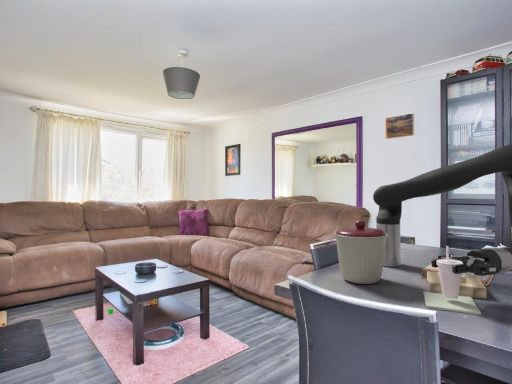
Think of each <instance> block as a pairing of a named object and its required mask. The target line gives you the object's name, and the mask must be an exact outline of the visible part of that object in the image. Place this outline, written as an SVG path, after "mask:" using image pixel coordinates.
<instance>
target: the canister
mask: <svg viewBox="0 0 512 384" xmlns="http://www.w3.org/2000/svg"><path fill="white" fill-rule="evenodd" d="M333 235H334V236H335V241H336V249H337V256H338V257H337V258H338V264H339V271H340V275H341V276H342V278H343V279H344V280H346V282H350V283H354V284H360V285H371V284H376V283H378V282H379V281H380V280H381V279H382V276H383V270H384V266H383V264H384V255H385V245H386V237H388V234H387V233H385V232H384V231H382V230H380V229H376V227H375V228H374V227H367V226H366V222H365V221H364V220H363V219H361V220H360V219H359V220H356V221H355V223H354V227H353V226H352V227H343V228H342V227H341V228H339V229H337V230H336V231H333Z"/></svg>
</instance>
